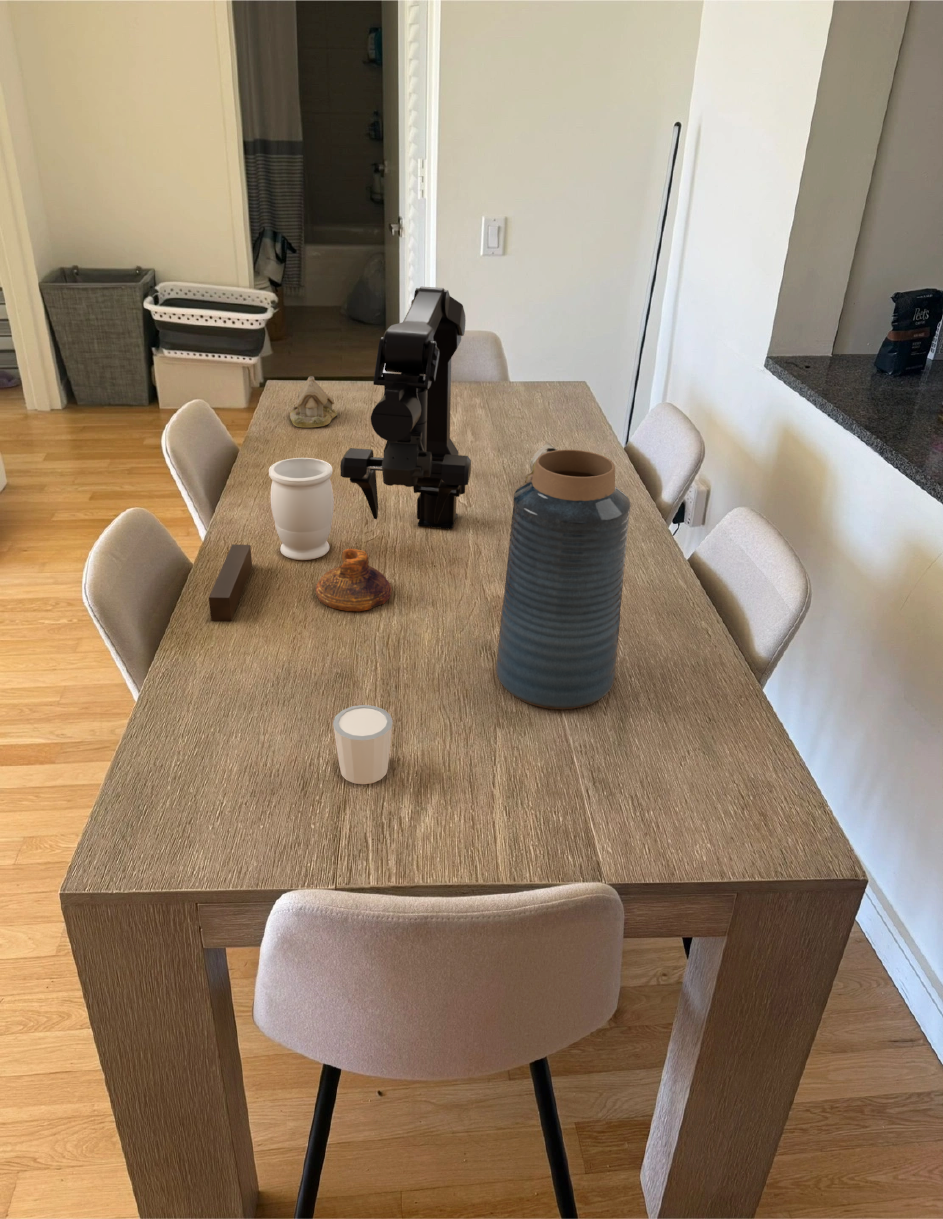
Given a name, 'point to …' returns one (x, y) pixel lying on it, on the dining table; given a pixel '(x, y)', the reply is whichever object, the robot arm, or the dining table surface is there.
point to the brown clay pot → (353, 584)
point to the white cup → (363, 743)
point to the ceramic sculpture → (542, 450)
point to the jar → (302, 506)
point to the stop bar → (230, 583)
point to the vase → (564, 582)
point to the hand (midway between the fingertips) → (406, 520)
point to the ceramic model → (312, 406)
